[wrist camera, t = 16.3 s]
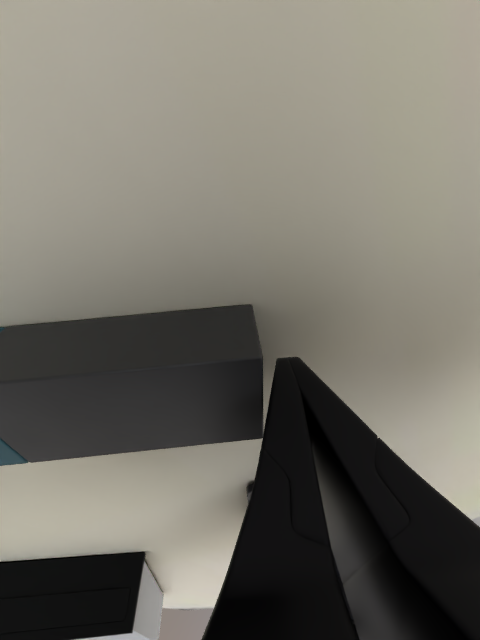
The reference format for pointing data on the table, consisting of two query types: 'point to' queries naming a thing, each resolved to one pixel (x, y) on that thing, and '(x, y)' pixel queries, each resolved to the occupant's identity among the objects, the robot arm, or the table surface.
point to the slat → (129, 384)
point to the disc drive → (80, 599)
